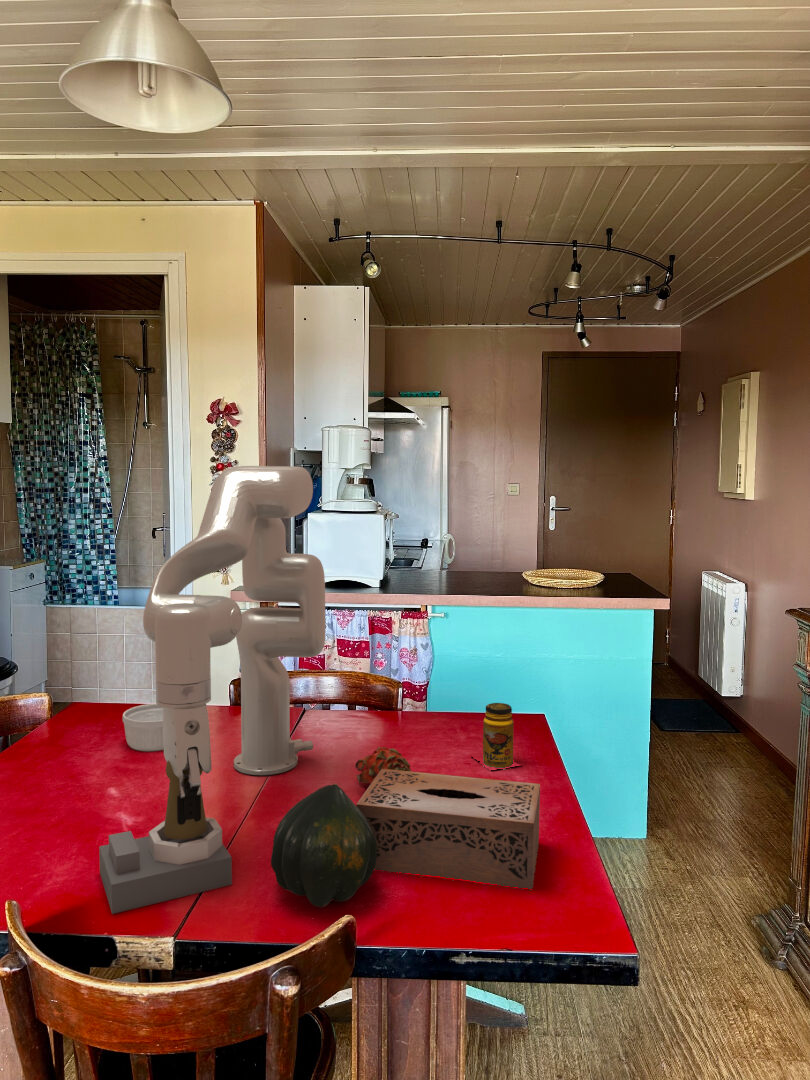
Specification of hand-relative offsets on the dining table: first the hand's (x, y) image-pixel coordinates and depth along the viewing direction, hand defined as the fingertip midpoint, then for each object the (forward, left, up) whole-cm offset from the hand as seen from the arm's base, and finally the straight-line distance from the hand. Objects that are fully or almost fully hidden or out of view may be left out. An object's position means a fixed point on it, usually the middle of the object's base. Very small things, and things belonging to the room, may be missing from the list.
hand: (185, 814), depth 112 cm
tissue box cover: (-37, +13, -9) cm, 40 cm away
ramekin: (-7, -59, -9) cm, 60 cm away
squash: (-16, +13, -9) cm, 23 cm away
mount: (+3, 0, -9) cm, 9 cm away
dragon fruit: (-39, -14, -9) cm, 43 cm away
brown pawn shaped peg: (0, 0, -2) cm, 2 cm away
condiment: (-66, -16, -9) cm, 69 cm away
